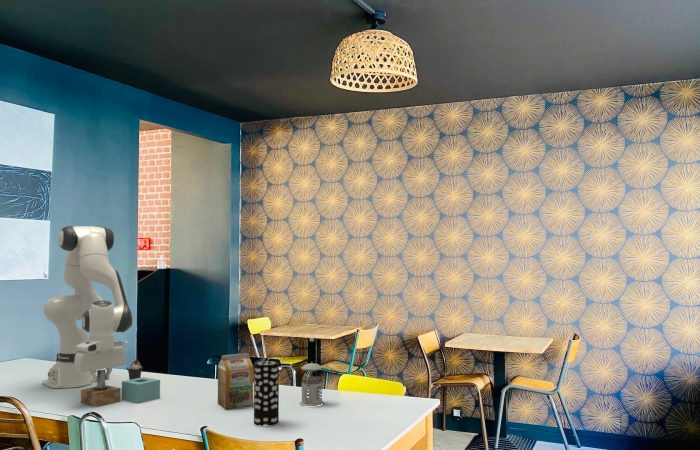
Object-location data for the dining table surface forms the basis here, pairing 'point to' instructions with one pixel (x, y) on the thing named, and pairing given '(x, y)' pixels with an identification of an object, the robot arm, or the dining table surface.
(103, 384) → the peg
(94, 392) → the socket
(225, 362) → the milk carton
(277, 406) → the spotted tube
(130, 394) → the teal storage box
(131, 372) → the sundae
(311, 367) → the french press
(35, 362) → the dining table surface
